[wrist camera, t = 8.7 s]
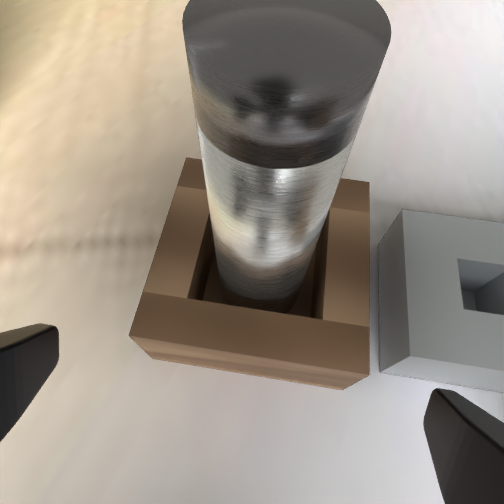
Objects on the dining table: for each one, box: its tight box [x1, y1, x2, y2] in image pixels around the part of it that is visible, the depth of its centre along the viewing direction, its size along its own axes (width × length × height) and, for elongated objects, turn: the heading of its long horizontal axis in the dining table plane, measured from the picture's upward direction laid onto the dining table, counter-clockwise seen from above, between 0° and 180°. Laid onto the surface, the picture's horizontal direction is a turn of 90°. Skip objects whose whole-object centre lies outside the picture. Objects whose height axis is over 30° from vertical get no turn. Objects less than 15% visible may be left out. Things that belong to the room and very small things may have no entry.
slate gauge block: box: [378, 209, 504, 393], centre depth 17 cm, size 7×7×4 cm
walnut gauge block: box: [129, 158, 369, 390], centre depth 17 cm, size 9×9×4 cm
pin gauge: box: [182, 0, 391, 314], centre depth 13 cm, size 4×4×13 cm
